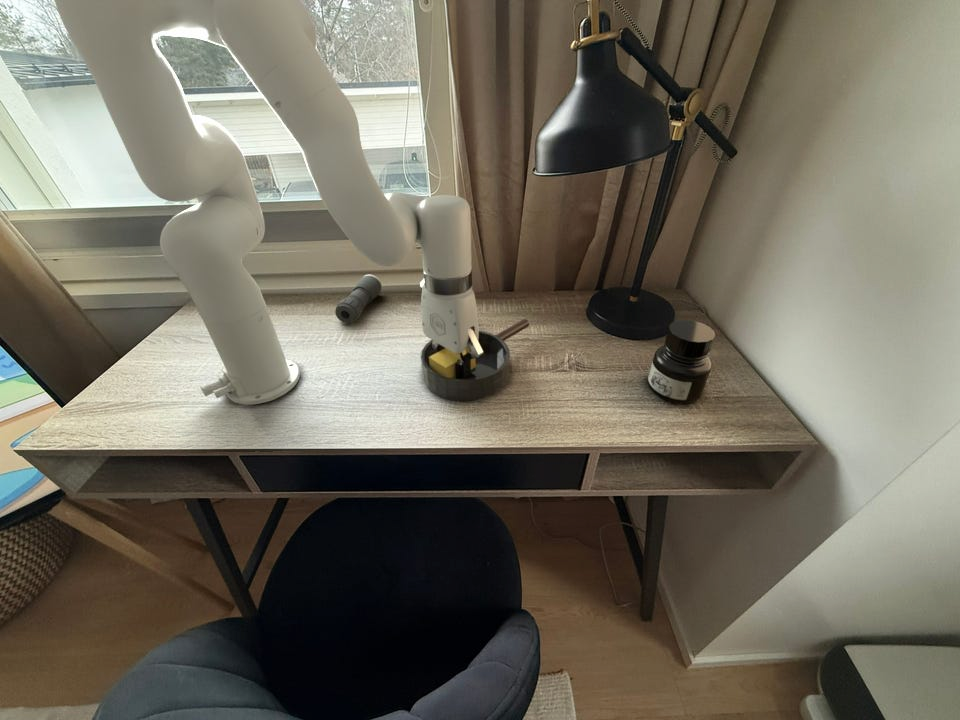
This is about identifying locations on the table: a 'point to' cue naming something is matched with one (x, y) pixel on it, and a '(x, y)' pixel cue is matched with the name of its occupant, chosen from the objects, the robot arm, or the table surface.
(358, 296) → the flashlight
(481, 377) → the pan
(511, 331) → the pan handle
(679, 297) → the table surface
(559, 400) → the table surface
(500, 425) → the table surface
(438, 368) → the sponge
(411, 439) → the table surface
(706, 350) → the ink bottle
